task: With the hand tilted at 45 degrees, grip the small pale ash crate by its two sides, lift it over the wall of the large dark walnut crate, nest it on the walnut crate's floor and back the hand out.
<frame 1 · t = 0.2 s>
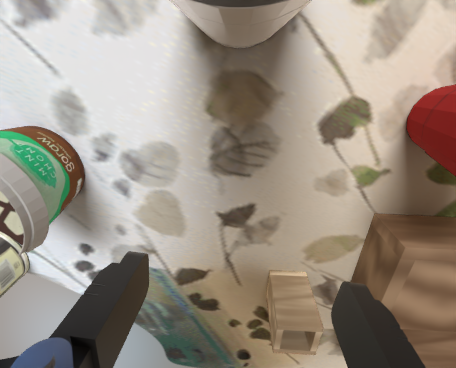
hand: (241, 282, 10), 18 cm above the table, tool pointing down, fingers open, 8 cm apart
crate: (433, 281, 33), on the table
food container: (57, 149, 27), on the table
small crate: (285, 283, 35), on the table
plastic cup: (438, 115, 24), on the table
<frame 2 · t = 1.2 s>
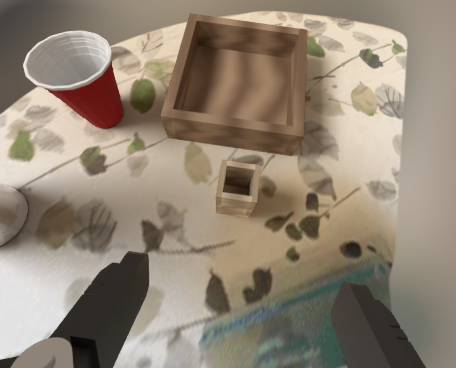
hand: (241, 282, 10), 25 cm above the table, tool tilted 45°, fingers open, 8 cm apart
crate: (238, 94, 45), on the table
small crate: (234, 199, 38), on the table
plastic cup: (107, 114, 42), on the table
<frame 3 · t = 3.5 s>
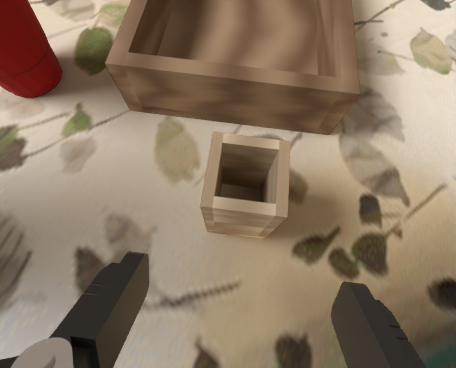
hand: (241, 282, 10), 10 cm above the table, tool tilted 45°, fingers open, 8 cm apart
crate: (240, 47, 29), on the table
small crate: (238, 207, 22), on the table
plastic cup: (36, 77, 27), on the table
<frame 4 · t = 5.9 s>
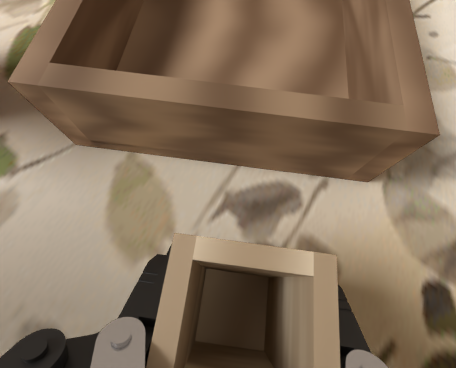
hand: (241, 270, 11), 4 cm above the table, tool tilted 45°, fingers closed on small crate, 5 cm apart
crate: (237, 51, 21), on the table
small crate: (232, 306, 14), on the table, touching gripper
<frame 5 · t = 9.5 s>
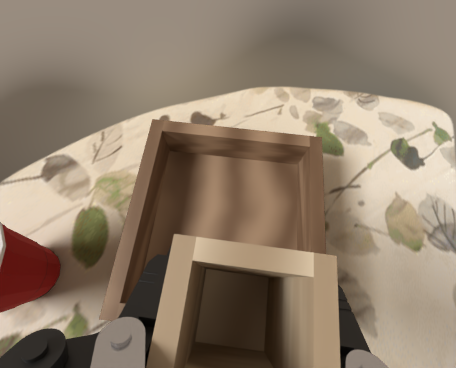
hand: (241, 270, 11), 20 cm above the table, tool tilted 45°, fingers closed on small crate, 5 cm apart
crate: (225, 226, 31), on the table
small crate: (232, 306, 14), point 16 cm above the table, touching gripper
plastic cup: (37, 271, 29), on the table
when the fingers open (7 cm above the table, at t = 13.2 s): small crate drops 1 cm, resting on crate.
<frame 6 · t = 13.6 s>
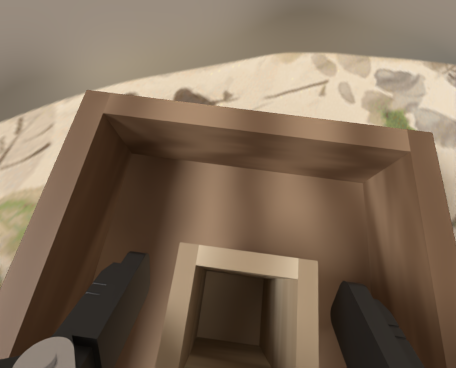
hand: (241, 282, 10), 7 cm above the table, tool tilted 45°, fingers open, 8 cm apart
crate: (230, 302, 16), on the table
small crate: (231, 305, 15), point 1 cm above the table, touching crate
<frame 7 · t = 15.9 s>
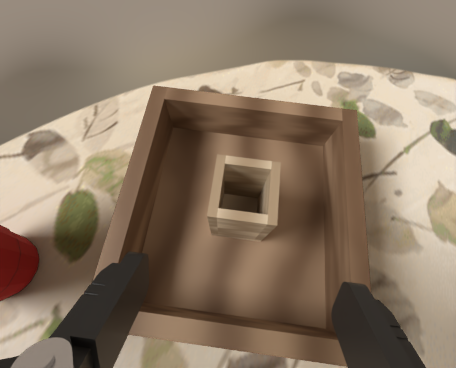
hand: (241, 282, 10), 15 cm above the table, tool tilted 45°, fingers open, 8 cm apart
crate: (238, 215, 26), on the table
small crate: (238, 214, 25), point 1 cm above the table, touching crate
plastic cup: (11, 264, 24), on the table
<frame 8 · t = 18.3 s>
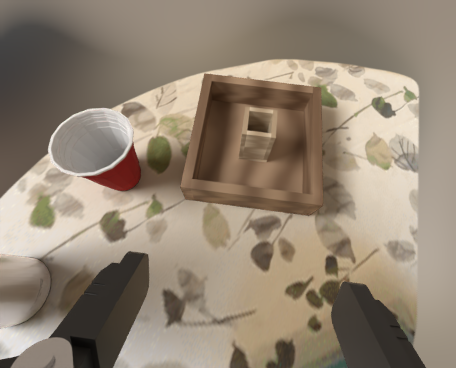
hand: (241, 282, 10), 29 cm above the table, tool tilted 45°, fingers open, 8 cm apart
crate: (252, 150, 45), on the table
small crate: (253, 148, 44), point 1 cm above the table, touching crate
plastic cup: (124, 175, 43), on the table
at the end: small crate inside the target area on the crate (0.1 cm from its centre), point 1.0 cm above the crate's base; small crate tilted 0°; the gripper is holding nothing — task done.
